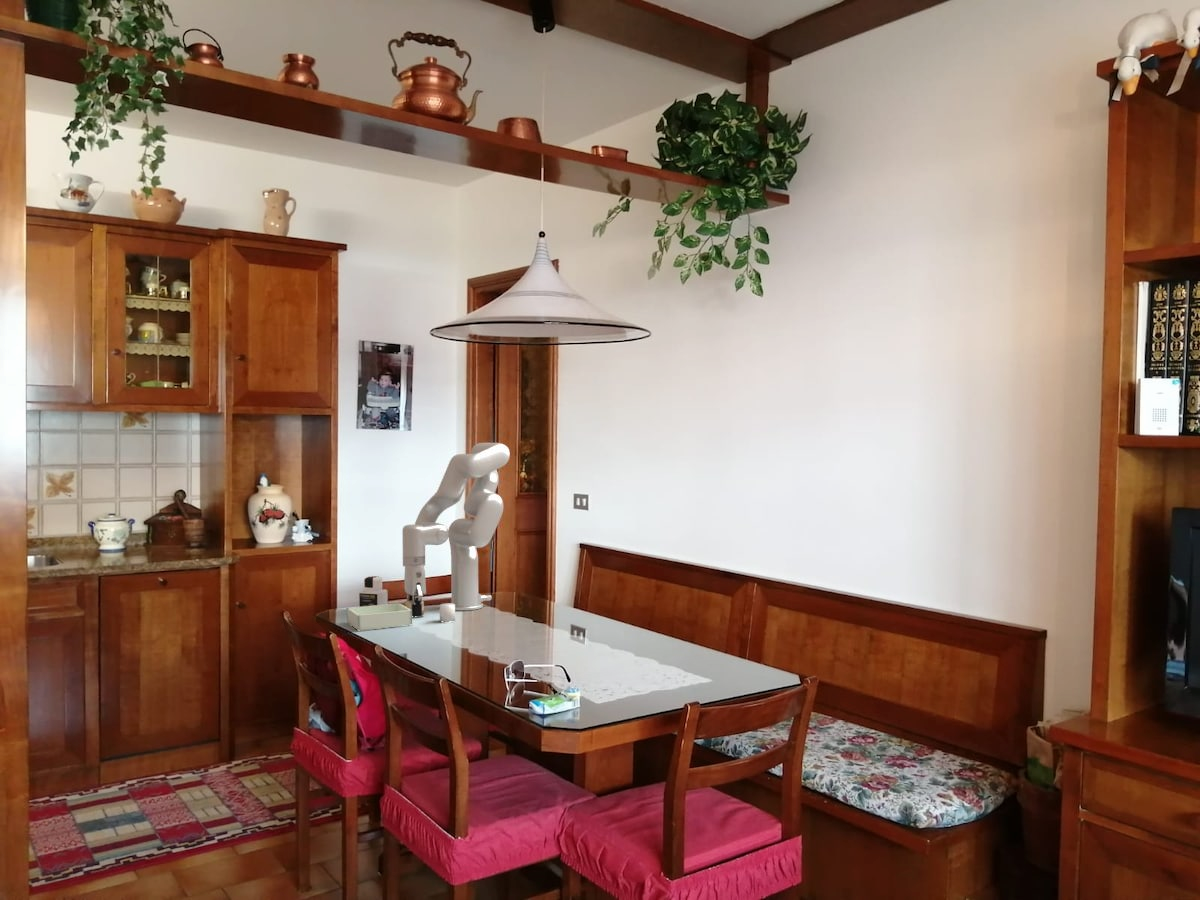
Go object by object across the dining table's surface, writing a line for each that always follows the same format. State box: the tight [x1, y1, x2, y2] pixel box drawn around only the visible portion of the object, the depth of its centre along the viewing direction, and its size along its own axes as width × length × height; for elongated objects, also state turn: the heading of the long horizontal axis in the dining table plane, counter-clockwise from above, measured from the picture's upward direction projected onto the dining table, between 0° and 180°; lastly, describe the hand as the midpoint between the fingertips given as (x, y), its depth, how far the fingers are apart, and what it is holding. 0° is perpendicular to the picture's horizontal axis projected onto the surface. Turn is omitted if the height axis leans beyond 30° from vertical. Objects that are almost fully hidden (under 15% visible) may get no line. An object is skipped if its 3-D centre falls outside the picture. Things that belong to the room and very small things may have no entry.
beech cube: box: [404, 600, 425, 616], centre depth 312 cm, size 5×5×5 cm
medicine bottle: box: [358, 575, 389, 607], centre depth 321 cm, size 7×7×12 cm
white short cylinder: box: [439, 602, 456, 622], centre depth 304 cm, size 5×5×6 cm
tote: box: [346, 602, 413, 632], centre depth 299 cm, size 17×14×5 cm
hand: (414, 614), depth 312 cm, fingers closed on beech cube, 5 cm apart
